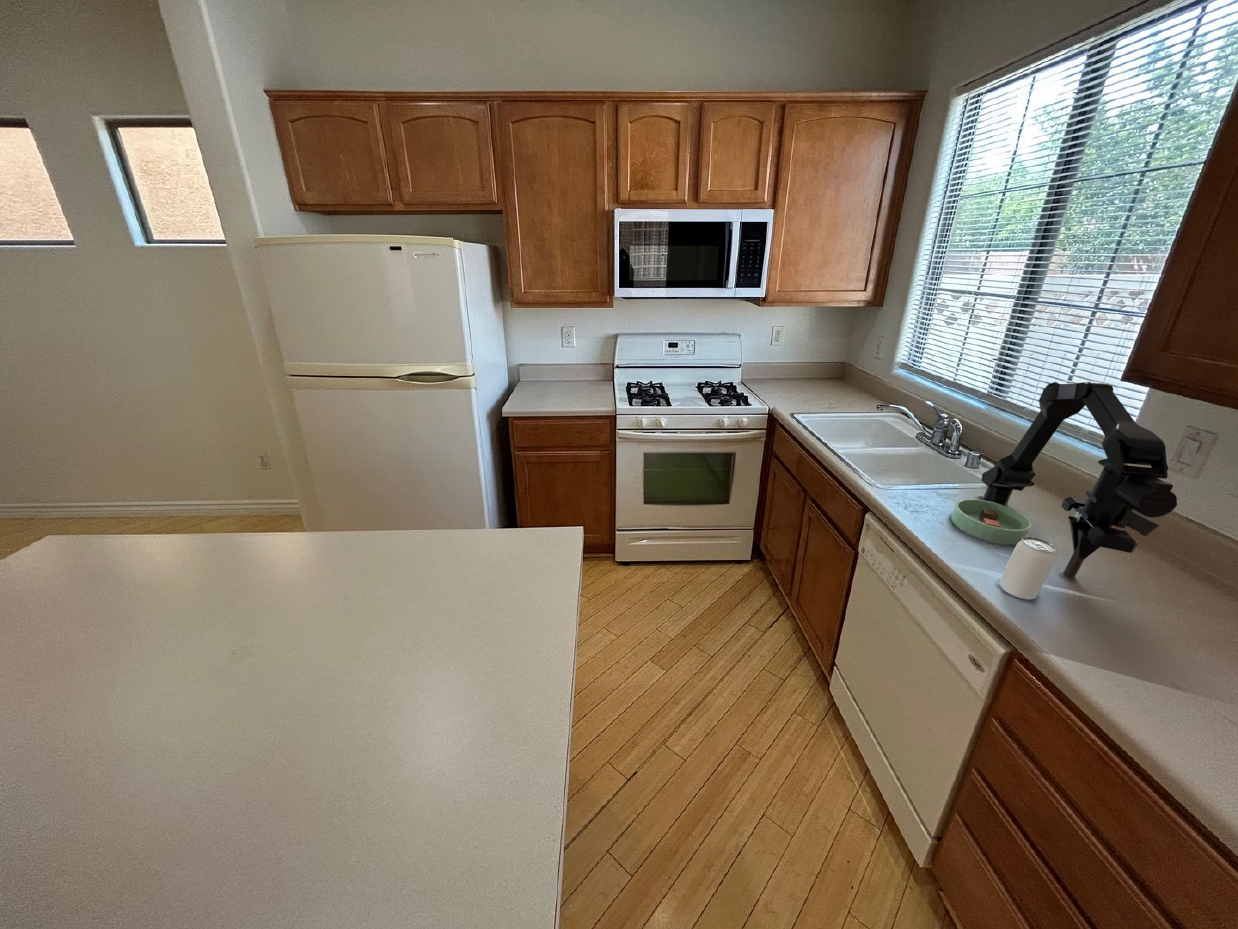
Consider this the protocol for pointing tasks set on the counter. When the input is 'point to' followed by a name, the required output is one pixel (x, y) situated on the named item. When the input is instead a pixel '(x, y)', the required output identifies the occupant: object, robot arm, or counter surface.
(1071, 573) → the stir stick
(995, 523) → the terracotta block
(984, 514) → the walnut block
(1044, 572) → the can
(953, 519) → the bowl
